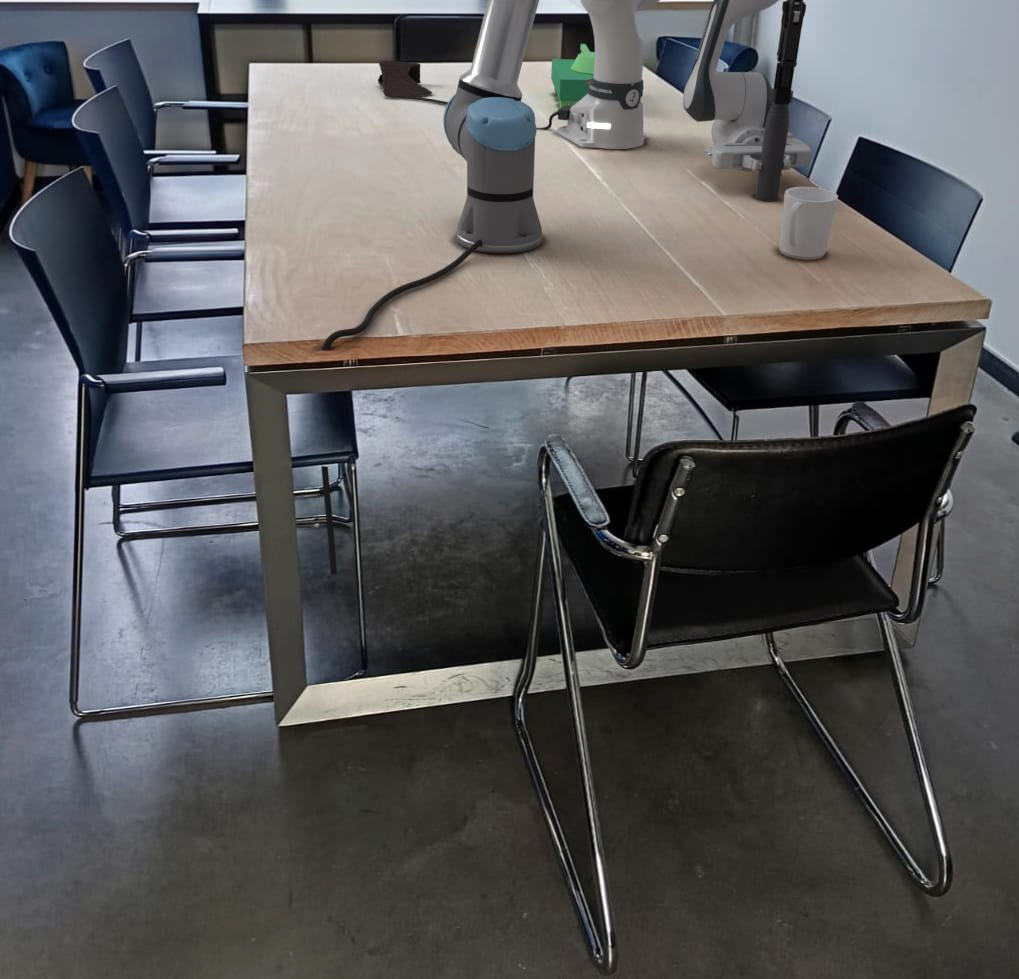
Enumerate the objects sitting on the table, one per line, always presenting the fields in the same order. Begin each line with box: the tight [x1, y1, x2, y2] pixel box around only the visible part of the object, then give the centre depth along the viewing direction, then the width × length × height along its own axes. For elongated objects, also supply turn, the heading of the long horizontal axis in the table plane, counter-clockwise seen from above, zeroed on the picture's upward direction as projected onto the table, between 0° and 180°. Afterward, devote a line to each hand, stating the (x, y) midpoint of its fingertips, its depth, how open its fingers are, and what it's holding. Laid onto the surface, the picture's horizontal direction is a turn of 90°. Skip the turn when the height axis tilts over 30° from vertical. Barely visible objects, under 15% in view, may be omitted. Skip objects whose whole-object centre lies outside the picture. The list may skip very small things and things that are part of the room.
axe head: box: [377, 59, 433, 99], centre depth 299 cm, size 18×8×15 cm
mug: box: [778, 186, 839, 261], centre depth 190 cm, size 11×9×10 cm
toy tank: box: [550, 43, 595, 109], centre depth 292 cm, size 18×12×35 cm
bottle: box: [754, 102, 790, 202], centre depth 216 cm, size 4×4×20 cm
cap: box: [769, 88, 794, 104], centre depth 211 cm, size 4×4×2 cm
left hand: (780, 100), depth 212 cm, fingers closed on cap, 4 cm apart
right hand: (773, 166), depth 217 cm, fingers closed on bottle, 4 cm apart
